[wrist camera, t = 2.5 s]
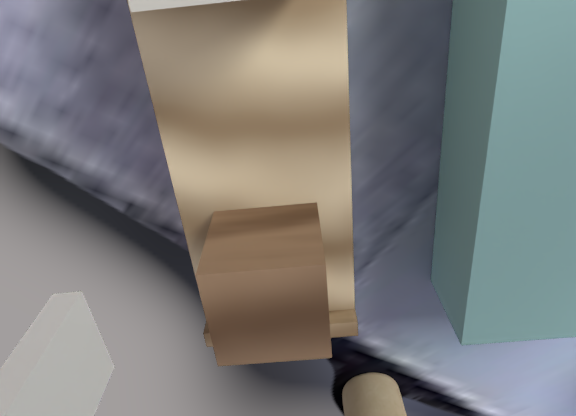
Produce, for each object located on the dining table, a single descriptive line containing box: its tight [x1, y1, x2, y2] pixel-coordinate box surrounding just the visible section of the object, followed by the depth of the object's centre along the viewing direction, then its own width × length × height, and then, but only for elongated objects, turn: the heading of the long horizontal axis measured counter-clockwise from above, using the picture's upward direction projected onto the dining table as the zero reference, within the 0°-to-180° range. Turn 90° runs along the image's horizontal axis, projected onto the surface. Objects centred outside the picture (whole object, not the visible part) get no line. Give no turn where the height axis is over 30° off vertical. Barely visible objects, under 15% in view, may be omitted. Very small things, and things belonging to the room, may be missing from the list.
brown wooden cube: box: [195, 202, 332, 366], centre depth 24 cm, size 6×6×6 cm
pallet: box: [127, 0, 358, 347], centre depth 25 cm, size 30×10×8 cm, turn 5°
